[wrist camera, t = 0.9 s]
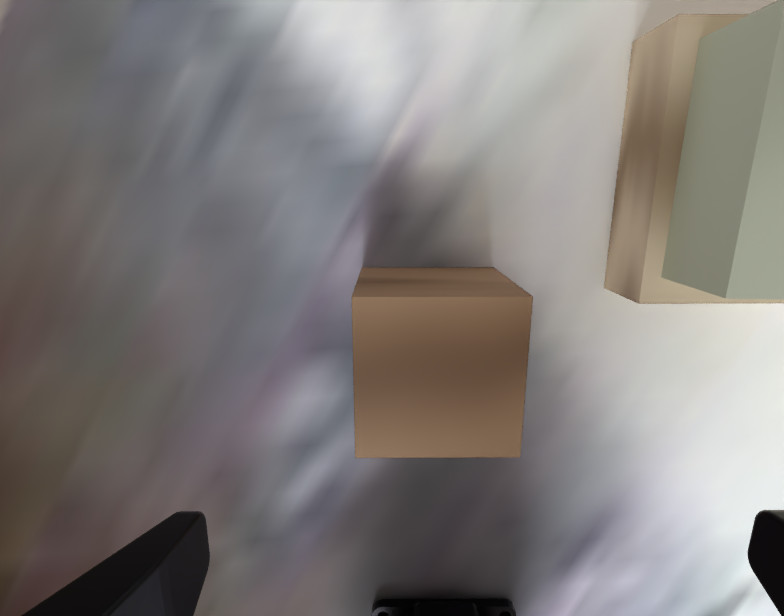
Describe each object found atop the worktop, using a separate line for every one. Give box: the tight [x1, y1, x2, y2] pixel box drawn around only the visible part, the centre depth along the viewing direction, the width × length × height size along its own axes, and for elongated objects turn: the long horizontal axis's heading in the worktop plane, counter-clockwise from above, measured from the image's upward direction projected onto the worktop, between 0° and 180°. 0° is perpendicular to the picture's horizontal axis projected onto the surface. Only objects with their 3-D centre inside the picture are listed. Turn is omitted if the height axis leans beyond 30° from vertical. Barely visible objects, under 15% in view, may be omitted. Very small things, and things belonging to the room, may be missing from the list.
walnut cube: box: [352, 267, 533, 458], centre depth 16 cm, size 5×5×5 cm
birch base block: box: [604, 14, 784, 304], centre depth 16 cm, size 8×8×3 cm
